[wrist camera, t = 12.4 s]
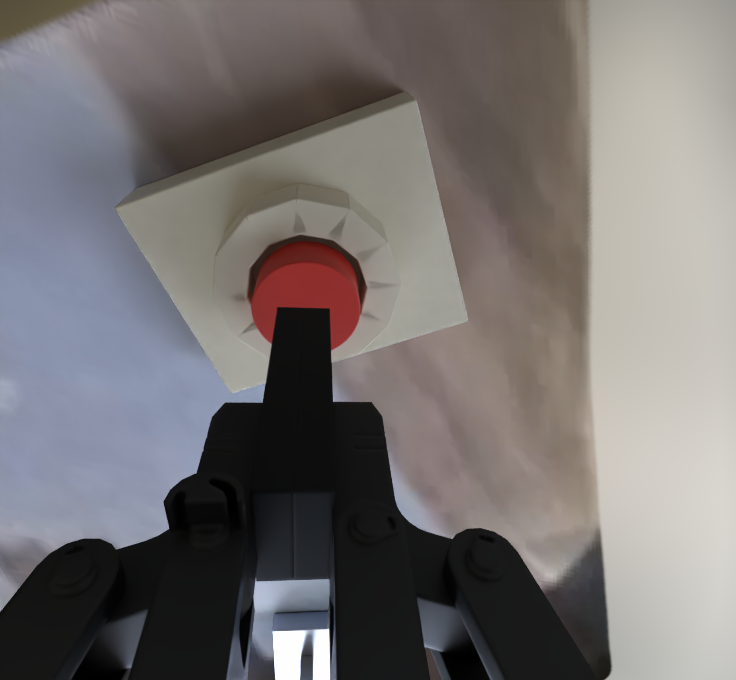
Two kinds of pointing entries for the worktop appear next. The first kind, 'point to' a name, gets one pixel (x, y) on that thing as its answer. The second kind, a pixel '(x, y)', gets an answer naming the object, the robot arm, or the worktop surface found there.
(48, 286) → the worktop surface
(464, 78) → the worktop surface
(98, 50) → the worktop surface
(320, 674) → the press bracket
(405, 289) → the button block
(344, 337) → the stop button
